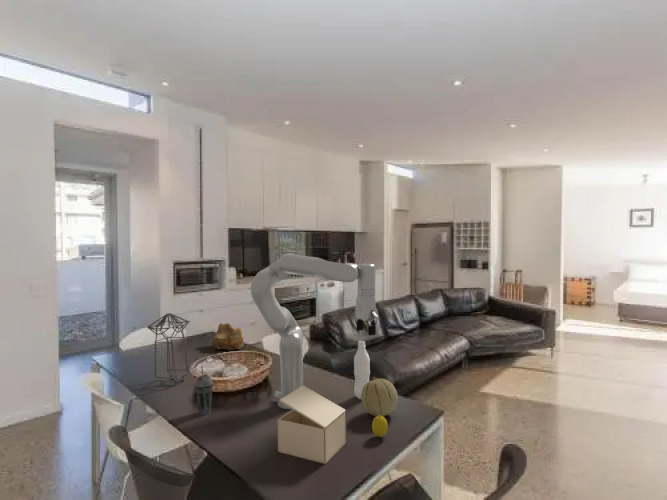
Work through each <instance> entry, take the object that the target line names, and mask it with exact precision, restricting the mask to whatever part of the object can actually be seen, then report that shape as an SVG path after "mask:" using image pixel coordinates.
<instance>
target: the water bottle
mask: <svg viewBox="0 0 667 500" xmlns="http://www.w3.org/2000/svg"><path fill="white" fill-rule="evenodd" d="M366 347H367V346H366V341H365V340H358V344H357V351H356V353H355V355H354V357H353V366H354V367H353V368H354V370H353V374H354V388H353V392H354V396H355V397H356V398H357V399H358V400H362V399H361V394H362V389H363V387H364V386H365V384H366V383H367V382H369V381H370V374H371V371H370V370H371V369H370V368H371V365H370V364H371V363H370V362H371V360H370V356H369V353H368V351H367V349H366Z"/></svg>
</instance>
